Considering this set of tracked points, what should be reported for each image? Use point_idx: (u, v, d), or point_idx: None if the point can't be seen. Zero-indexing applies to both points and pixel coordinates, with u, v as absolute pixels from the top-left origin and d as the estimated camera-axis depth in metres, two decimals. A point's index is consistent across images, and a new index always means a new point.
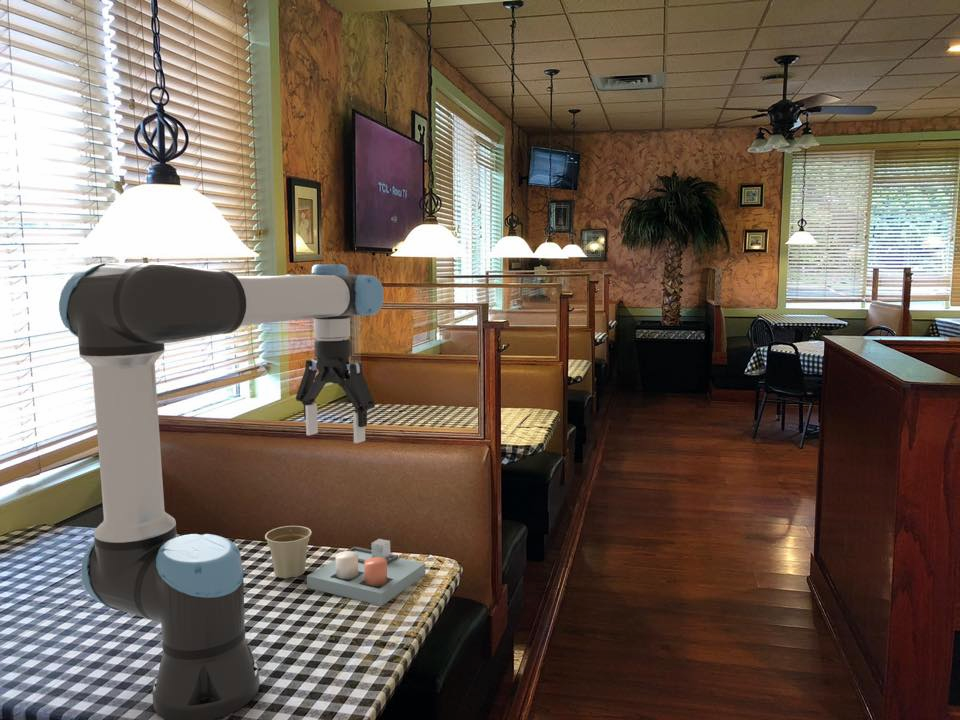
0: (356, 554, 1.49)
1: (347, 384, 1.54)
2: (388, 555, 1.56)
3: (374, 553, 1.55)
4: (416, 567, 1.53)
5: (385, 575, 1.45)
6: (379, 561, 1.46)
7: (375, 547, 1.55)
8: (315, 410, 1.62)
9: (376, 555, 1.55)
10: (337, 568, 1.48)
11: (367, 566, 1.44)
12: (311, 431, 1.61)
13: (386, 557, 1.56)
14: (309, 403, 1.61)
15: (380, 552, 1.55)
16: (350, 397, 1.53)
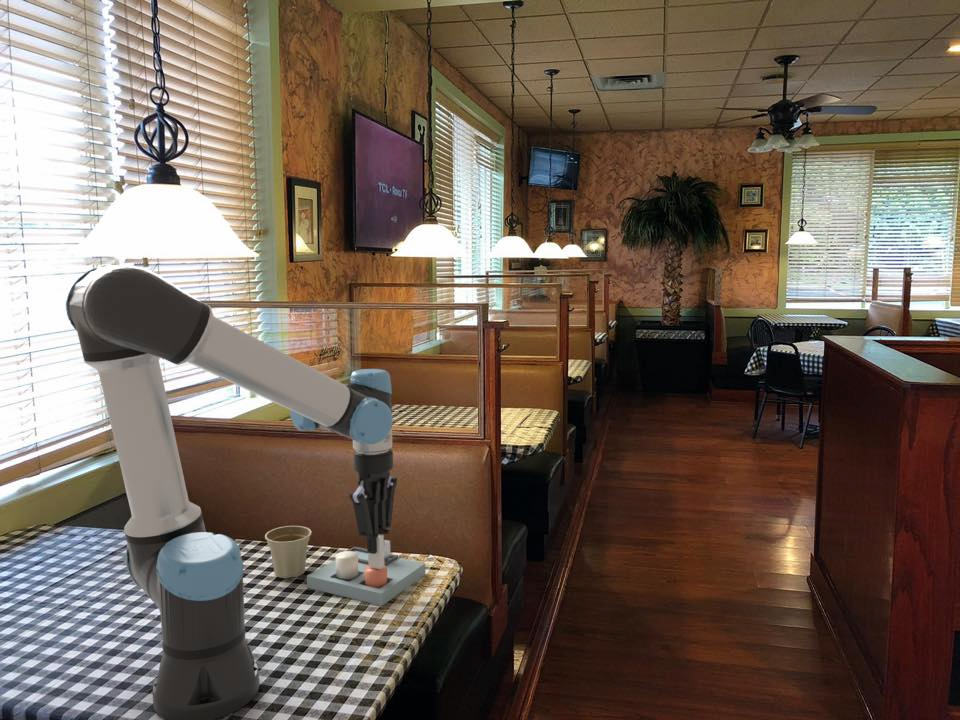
0: (356, 554, 1.49)
1: None
2: (388, 555, 1.56)
3: None
4: (416, 567, 1.53)
5: (385, 582, 1.45)
6: None
7: None
8: None
9: None
10: (337, 568, 1.48)
11: (367, 573, 1.44)
12: None
13: (386, 557, 1.56)
14: None
15: None
16: None
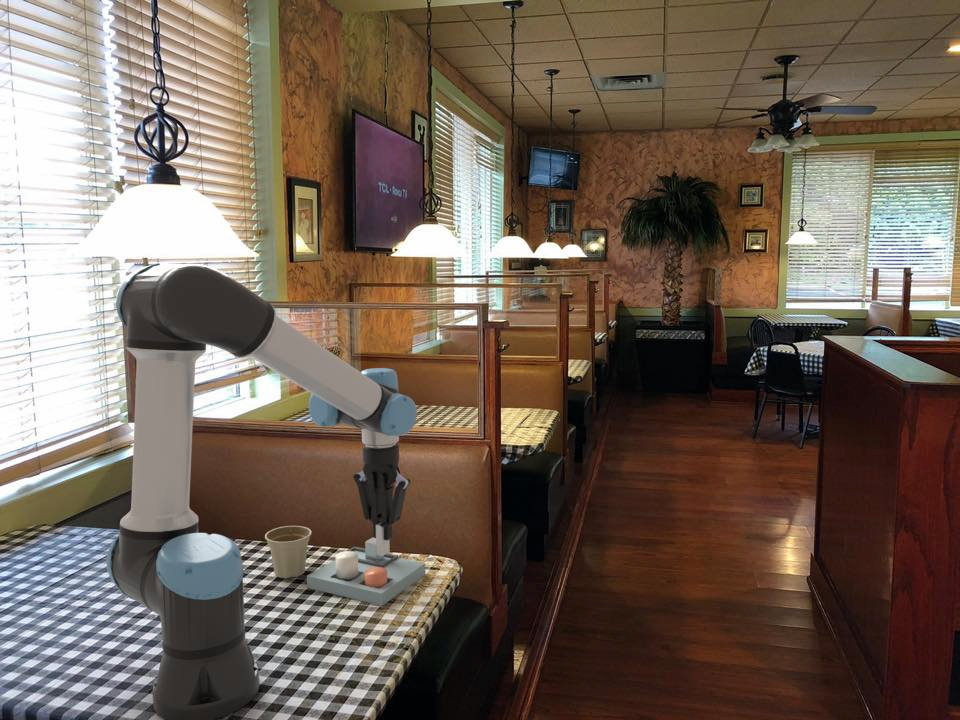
0: (356, 554, 1.49)
1: (387, 495, 1.53)
2: None
3: (367, 552, 1.56)
4: (416, 567, 1.53)
5: None
6: (379, 571, 1.46)
7: (369, 546, 1.56)
8: None
9: (370, 554, 1.56)
10: (337, 568, 1.48)
11: (367, 576, 1.44)
12: None
13: (380, 556, 1.56)
14: (379, 520, 1.55)
15: (373, 551, 1.55)
16: (383, 508, 1.53)
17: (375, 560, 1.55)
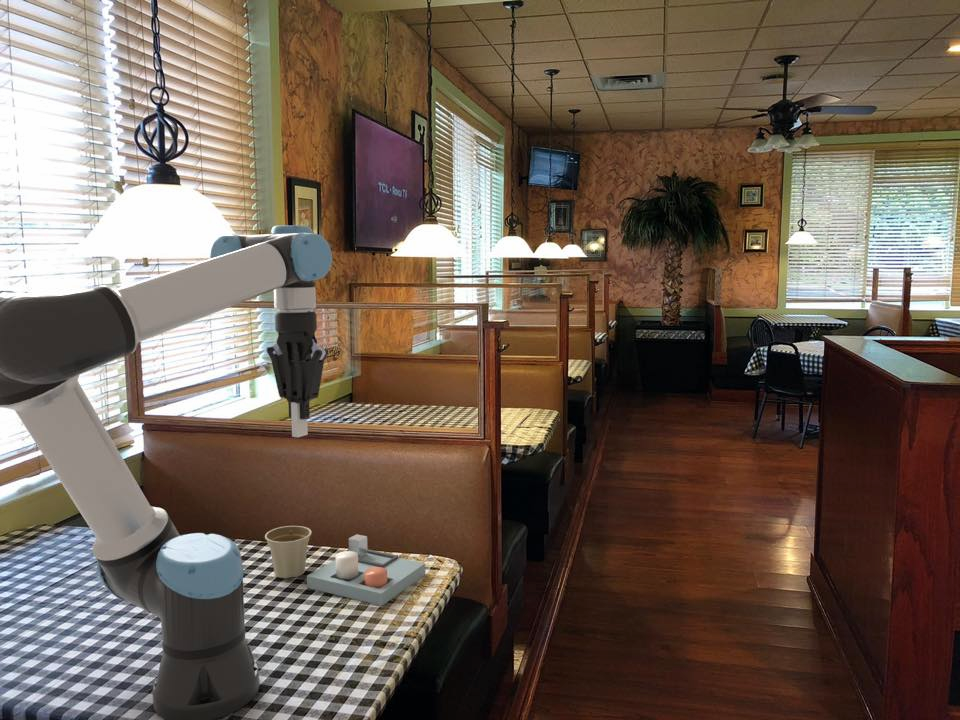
0: (356, 554, 1.49)
1: (303, 368, 1.37)
2: (365, 550, 1.59)
3: (351, 549, 1.58)
4: (416, 567, 1.53)
5: None
6: (379, 571, 1.46)
7: (352, 542, 1.58)
8: None
9: (353, 550, 1.58)
10: (337, 568, 1.48)
11: (367, 576, 1.44)
12: None
13: (363, 552, 1.58)
14: (295, 397, 1.40)
15: (356, 548, 1.57)
16: (298, 383, 1.38)
17: (358, 556, 1.57)
